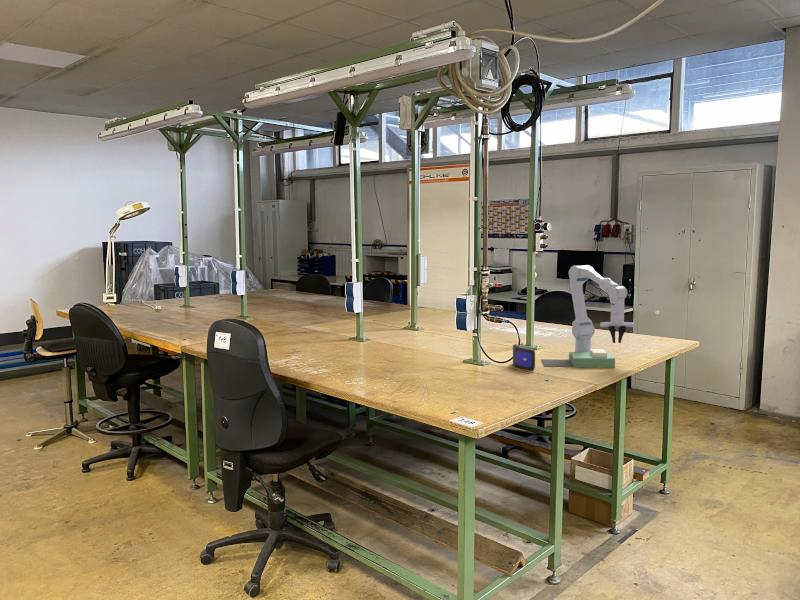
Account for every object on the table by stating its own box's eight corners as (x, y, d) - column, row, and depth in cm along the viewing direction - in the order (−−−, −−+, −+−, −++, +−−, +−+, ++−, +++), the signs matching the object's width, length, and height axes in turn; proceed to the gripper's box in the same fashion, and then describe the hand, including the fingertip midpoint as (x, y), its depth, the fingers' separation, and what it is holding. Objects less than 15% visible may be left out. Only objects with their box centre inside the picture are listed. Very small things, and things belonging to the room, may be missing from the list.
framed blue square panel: (507, 364, 284) (507, 344, 283) (516, 363, 285) (516, 343, 284) (526, 371, 269) (527, 350, 268) (535, 370, 270) (536, 349, 269)
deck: (569, 360, 289) (569, 351, 289) (608, 360, 287) (608, 352, 286) (573, 366, 276) (573, 358, 275) (614, 367, 273) (615, 358, 273)
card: (589, 353, 285) (589, 349, 285) (603, 353, 284) (603, 349, 284) (593, 357, 276) (593, 352, 276) (607, 357, 276) (607, 353, 275)
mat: (541, 359, 291) (541, 359, 291) (569, 360, 289) (569, 359, 289) (543, 366, 277) (543, 365, 277) (573, 366, 276) (573, 366, 276)
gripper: (602, 314, 274) (601, 344, 276) (636, 314, 272) (635, 344, 274) (599, 312, 281) (598, 341, 283) (632, 312, 279) (631, 341, 281)
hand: (616, 342), depth 279 cm, fingers closed
